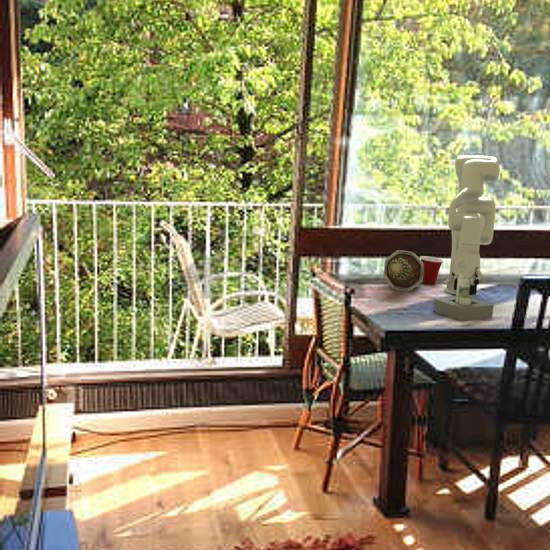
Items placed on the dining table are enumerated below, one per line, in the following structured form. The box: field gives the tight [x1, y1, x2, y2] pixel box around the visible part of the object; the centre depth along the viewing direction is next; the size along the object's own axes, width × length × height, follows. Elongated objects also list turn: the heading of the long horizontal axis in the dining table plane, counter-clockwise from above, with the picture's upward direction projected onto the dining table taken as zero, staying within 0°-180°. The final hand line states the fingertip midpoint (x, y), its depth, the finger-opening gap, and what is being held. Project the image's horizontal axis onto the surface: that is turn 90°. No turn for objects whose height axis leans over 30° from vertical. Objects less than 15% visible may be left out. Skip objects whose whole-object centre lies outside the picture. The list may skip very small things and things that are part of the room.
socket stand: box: [432, 295, 494, 322], centre depth 300 cm, size 16×16×5 cm
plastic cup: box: [419, 255, 444, 286], centre depth 353 cm, size 11×11×12 cm
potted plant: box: [383, 249, 424, 292], centre depth 334 cm, size 18×18×30 cm
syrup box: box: [455, 274, 475, 305], centre depth 299 cm, size 6×6×14 cm
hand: (464, 292), depth 299 cm, fingers closed on syrup box, 7 cm apart
